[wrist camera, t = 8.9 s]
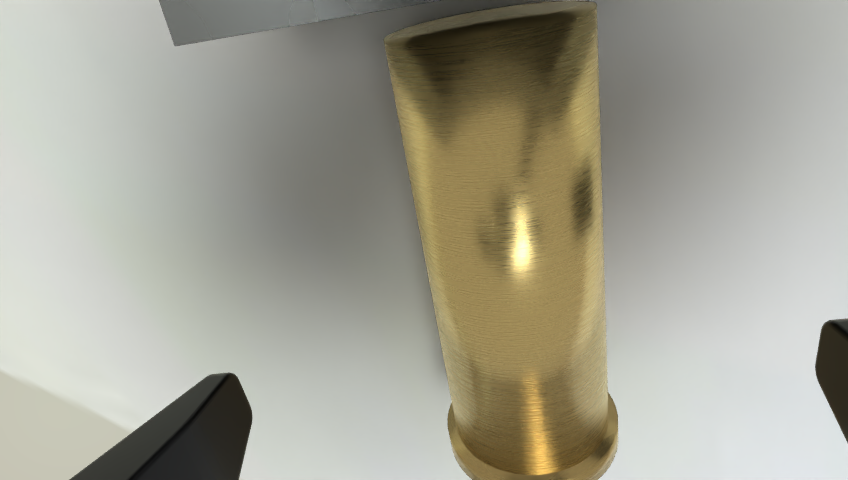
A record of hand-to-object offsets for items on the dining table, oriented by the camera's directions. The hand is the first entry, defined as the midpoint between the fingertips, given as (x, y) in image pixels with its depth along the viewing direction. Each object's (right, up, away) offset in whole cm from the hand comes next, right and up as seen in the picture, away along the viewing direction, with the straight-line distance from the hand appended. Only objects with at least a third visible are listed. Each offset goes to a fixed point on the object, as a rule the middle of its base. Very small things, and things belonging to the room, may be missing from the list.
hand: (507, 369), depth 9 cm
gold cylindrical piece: (+2, +3, +11) cm, 11 cm away
